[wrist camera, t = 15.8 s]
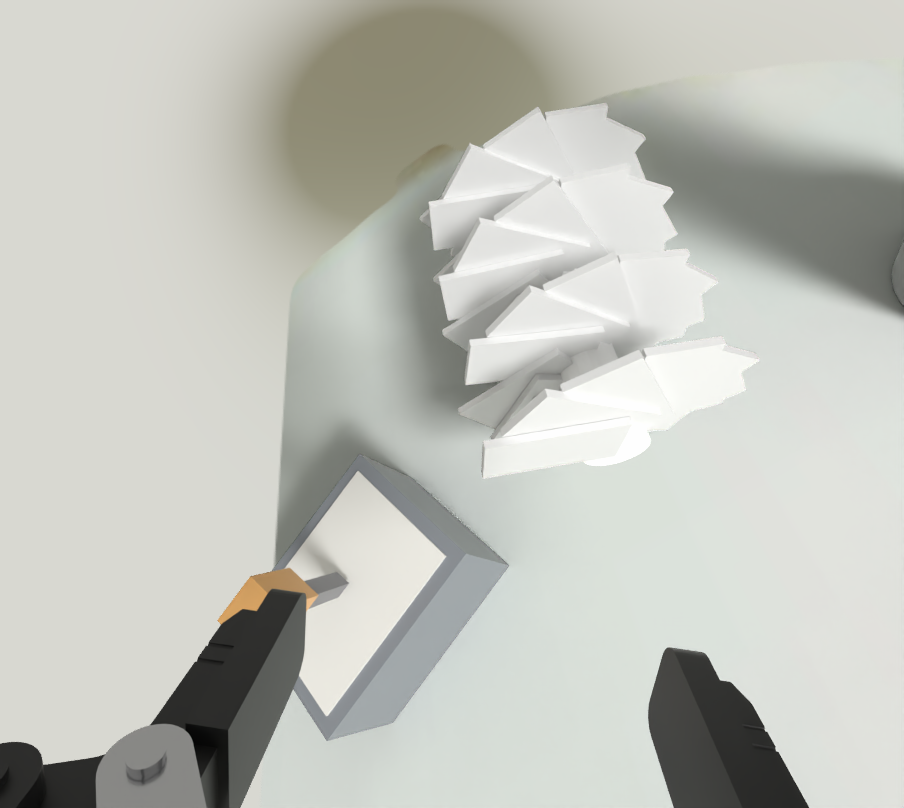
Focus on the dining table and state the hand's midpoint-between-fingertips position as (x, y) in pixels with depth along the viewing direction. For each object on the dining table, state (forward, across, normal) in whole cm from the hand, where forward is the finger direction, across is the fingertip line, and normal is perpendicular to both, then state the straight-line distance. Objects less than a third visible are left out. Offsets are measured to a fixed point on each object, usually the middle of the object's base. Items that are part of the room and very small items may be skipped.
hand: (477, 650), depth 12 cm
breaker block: (+28, +4, +20) cm, 35 cm away
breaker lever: (+22, +8, +15) cm, 28 cm away
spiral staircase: (+36, -8, -1) cm, 37 cm away
